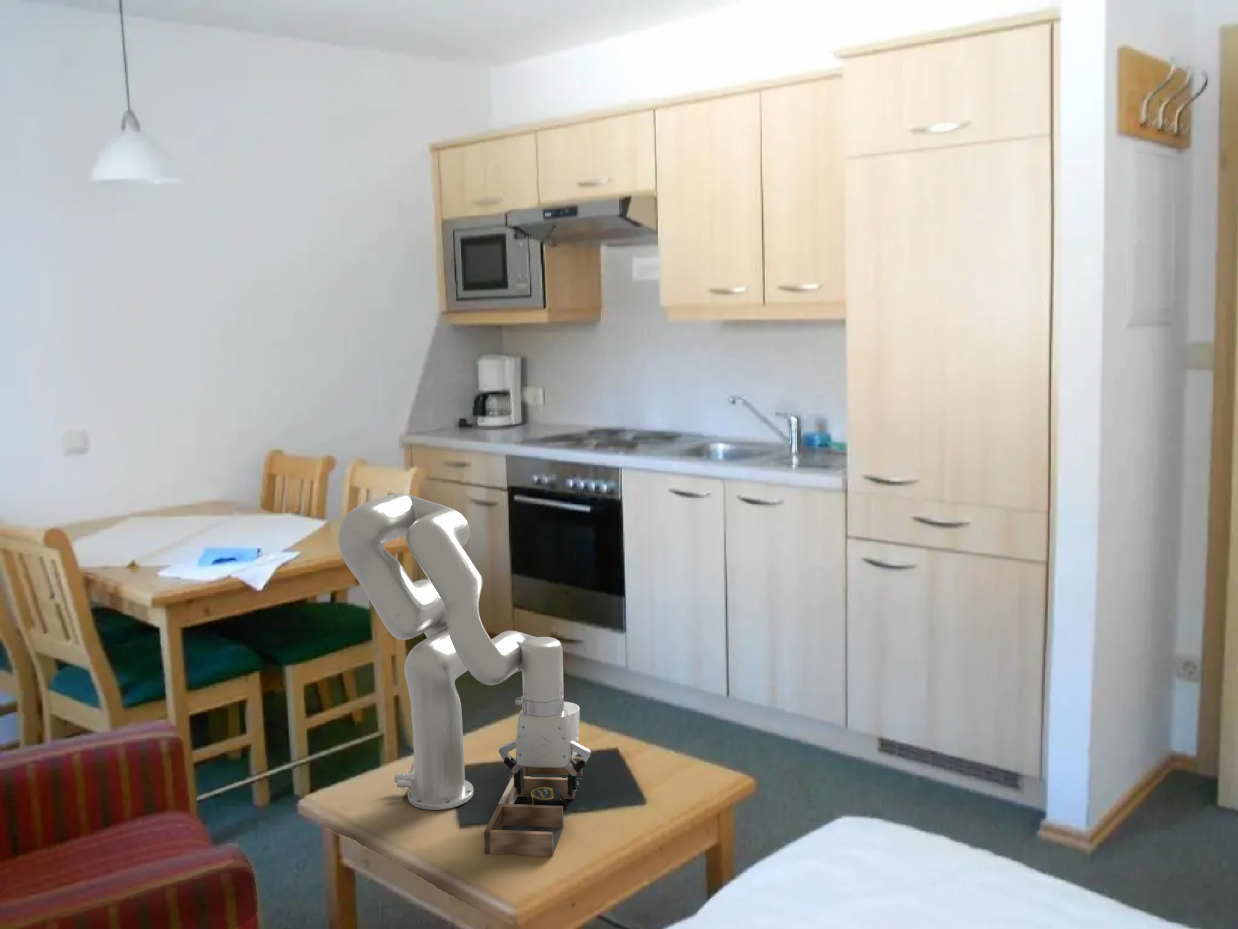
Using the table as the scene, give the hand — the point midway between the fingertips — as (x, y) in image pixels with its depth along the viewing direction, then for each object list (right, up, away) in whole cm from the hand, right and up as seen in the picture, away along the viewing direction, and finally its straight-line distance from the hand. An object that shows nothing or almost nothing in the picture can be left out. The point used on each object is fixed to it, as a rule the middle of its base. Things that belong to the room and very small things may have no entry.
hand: (545, 792), depth 213 cm
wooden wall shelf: (-2, -4, +1) cm, 4 cm away
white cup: (+2, 0, +27) cm, 27 cm away
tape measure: (+1, -4, +2) cm, 4 cm away
